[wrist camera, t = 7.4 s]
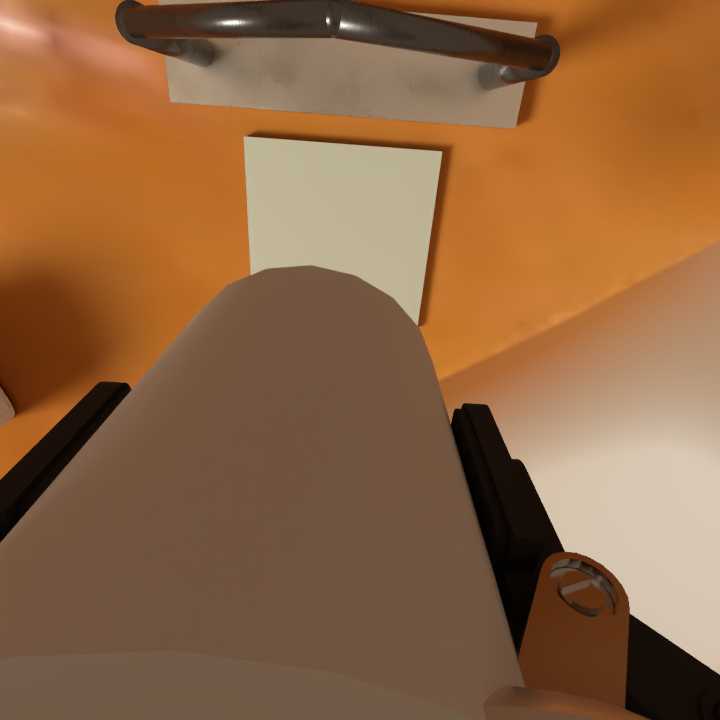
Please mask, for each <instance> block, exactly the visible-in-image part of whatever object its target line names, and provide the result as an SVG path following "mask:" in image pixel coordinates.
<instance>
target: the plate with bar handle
mask: <svg viewBox="0 0 720 720" xmlns="http://www.w3.org/2000/svg"><path fill="white" fill-rule="evenodd" d="M158 1H159V5H146V6H144V5H142V4H140V3H139V2H137V1H134V0H125V1H123V2H121V3H120V4H119V6H118V7H117V10H116V14H115V20H116V25H117V28H118V30H119V32H120V34H121V35H122V36H123V37H124V38H125V39H126V40H127V41H128V42H130V43H132V44H135V45H138V46H141V47H144V48H146V49H149V50H152V51H155V52H158V53H161V54H164V55H165V60H166V69H167V77H168V86H169V94H170V102H175V103H186V104H199V105H212V106H225V107H238V108H251V109H263V110H276V111H289V112H302V113H315V114H328V115H341V116H353V117H366V118H379V119H392V120H405V121H418V122H431V123H443V124H456V125H469V126H482V127H495V128H508V129H516V124H517V119H518V114H519V109H520V105H521V100H522V95H523V90H524V85H525V81H528V80H532V79H536V78H539V77H543V76H546V75H547V74H549V73H550V72H551V71H552V70H553V69H554V68H555V67H556V65H557V63H558V60H559V56H560V48H559V44H558V42H557V40H556V39H555V38H554V37H552V36H550V35H540V36H538V37H536V38H535V33H536V28H537V23H534V22H522V21H510V20H498V19H487V18H475V17H463V16H451V15H439V14H427V13H415V12H404V11H398V10H393V9H389V8H384V7H379V6H374V5H369V4H364V3H359V2H354V1H350V0H158Z"/></svg>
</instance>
